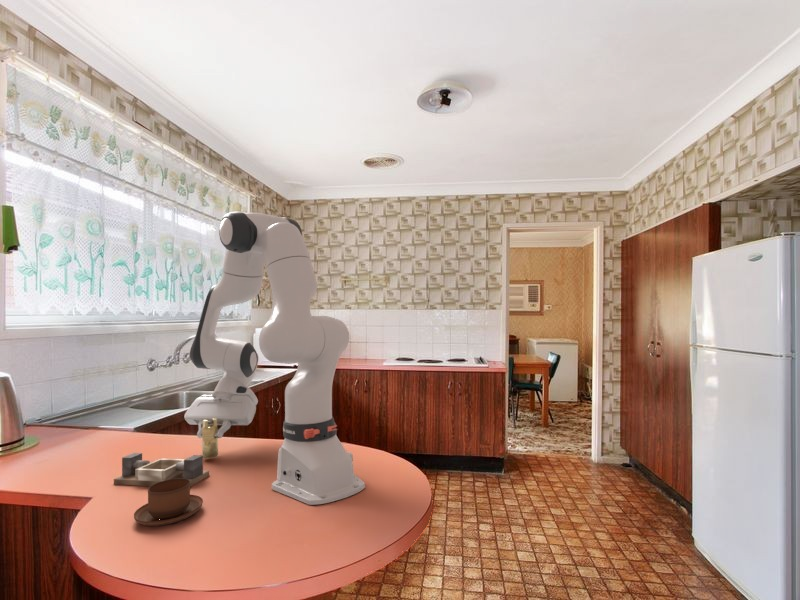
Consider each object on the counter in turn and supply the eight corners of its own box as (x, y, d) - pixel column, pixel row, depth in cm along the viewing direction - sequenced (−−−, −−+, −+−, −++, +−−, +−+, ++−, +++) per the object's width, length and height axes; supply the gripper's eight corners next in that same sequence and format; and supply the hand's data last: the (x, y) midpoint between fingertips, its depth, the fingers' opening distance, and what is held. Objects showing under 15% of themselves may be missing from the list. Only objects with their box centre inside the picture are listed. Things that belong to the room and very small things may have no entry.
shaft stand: (209, 475, 105) (209, 452, 105) (187, 488, 97) (187, 463, 97) (140, 472, 109) (140, 450, 109) (113, 484, 101) (113, 460, 101)
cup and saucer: (125, 519, 83) (125, 487, 83) (189, 498, 92) (188, 469, 92) (145, 539, 75) (145, 503, 75) (213, 514, 84) (212, 483, 84)
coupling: (220, 455, 117) (219, 419, 118) (204, 459, 115) (204, 422, 115) (215, 452, 120) (215, 417, 121) (200, 456, 118) (200, 419, 118)
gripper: (193, 389, 127) (170, 430, 117) (255, 388, 123) (236, 431, 113) (203, 401, 131) (181, 442, 121) (263, 401, 127) (246, 443, 117)
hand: (208, 436), depth 117 cm, fingers closed on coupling, 4 cm apart
